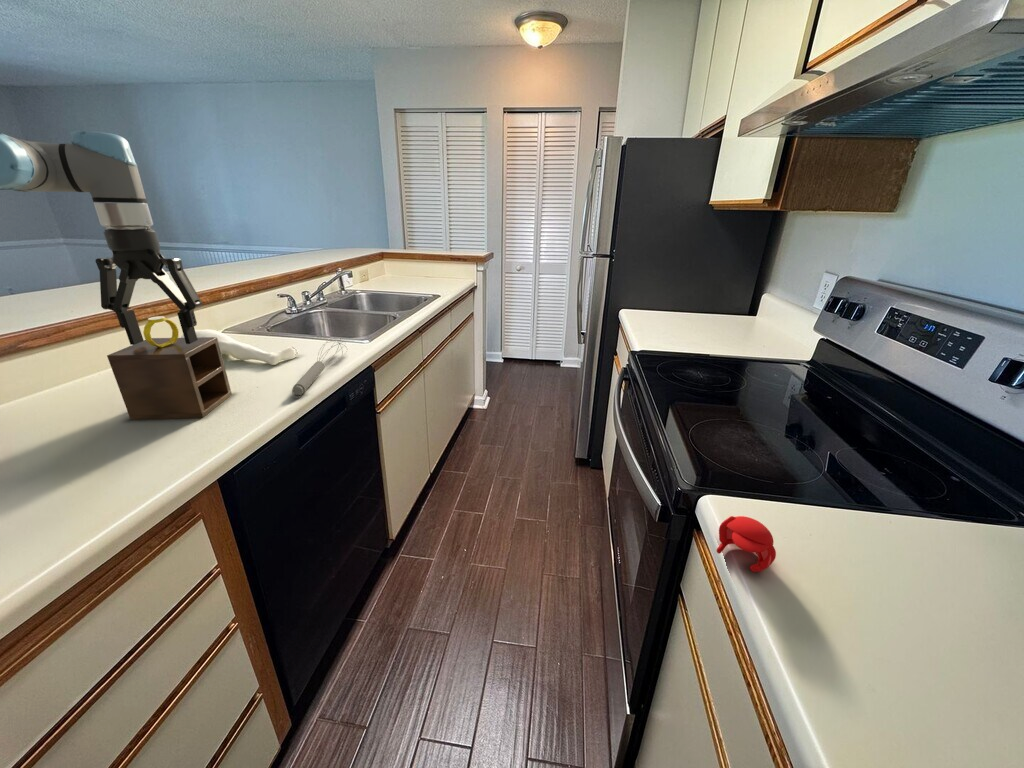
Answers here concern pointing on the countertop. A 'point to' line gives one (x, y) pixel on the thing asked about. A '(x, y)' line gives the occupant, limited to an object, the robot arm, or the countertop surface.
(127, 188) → the robot arm
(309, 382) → the kitchen whisk
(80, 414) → the countertop surface
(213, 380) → the shelf
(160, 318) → the watch
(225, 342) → the leg
